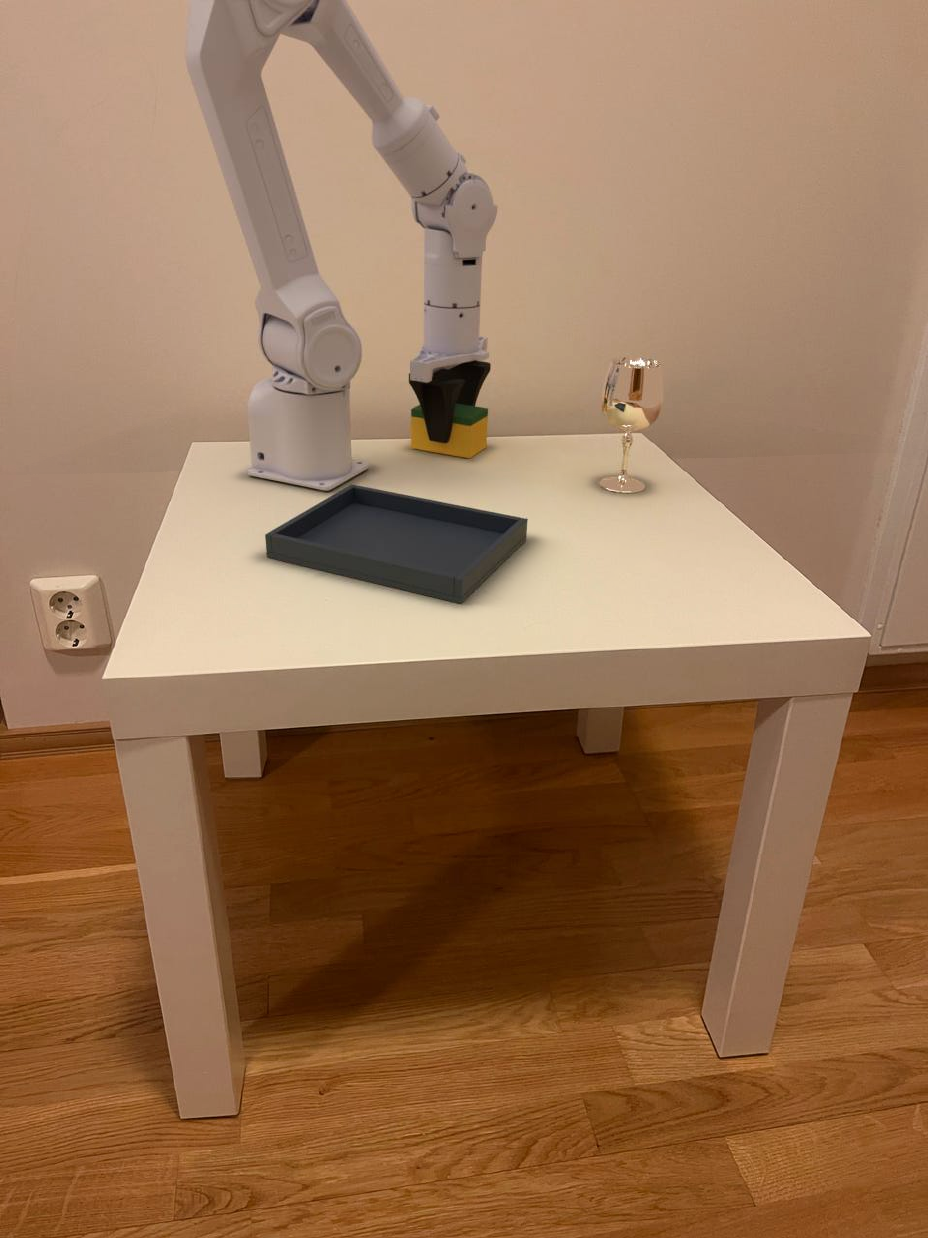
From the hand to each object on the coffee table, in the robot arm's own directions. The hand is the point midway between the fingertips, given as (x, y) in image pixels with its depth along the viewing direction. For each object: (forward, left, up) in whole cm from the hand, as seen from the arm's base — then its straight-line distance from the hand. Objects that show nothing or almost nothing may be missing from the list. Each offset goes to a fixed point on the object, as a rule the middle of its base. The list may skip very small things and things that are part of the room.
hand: (449, 435), depth 98 cm
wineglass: (+20, -2, -2) cm, 20 cm away
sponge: (0, 0, -1) cm, 1 cm away
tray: (+8, -26, -2) cm, 27 cm away
